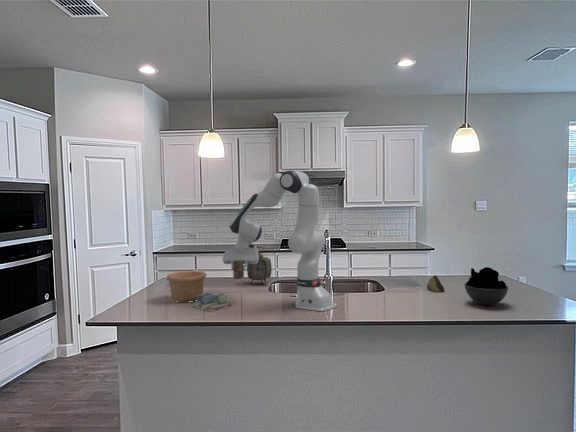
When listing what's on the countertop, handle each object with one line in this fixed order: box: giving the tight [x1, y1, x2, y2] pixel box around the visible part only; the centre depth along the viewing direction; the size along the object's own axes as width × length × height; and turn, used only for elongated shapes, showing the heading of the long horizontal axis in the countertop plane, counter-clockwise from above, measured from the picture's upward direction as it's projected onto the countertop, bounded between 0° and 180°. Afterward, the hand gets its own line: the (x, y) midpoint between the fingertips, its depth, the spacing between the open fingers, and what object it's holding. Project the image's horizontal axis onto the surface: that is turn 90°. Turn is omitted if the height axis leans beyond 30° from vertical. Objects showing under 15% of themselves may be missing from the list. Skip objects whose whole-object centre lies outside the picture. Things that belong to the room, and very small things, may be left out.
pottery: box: [166, 270, 207, 302], centre depth 230 cm, size 22×22×14 cm
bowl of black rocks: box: [464, 266, 509, 306], centre depth 206 cm, size 20×20×19 cm
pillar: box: [232, 261, 245, 280], centre depth 220 cm, size 4×4×9 cm
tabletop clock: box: [246, 246, 273, 286], centre depth 266 cm, size 14×9×25 cm, turn 67°
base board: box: [191, 292, 233, 312], centre depth 215 cm, size 16×14×6 cm
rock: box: [426, 274, 446, 293], centre depth 238 cm, size 11×9×10 cm
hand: (238, 269), depth 220 cm, fingers closed on pillar, 4 cm apart
